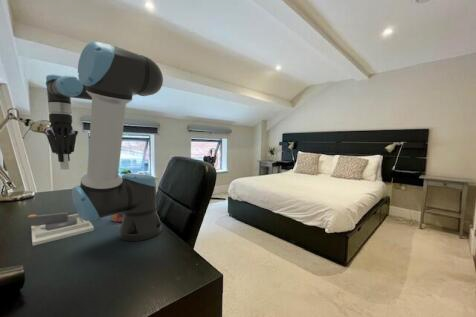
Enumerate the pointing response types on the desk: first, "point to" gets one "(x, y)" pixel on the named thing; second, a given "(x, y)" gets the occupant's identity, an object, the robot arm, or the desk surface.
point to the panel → (60, 231)
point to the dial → (52, 220)
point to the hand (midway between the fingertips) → (64, 169)
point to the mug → (118, 217)
